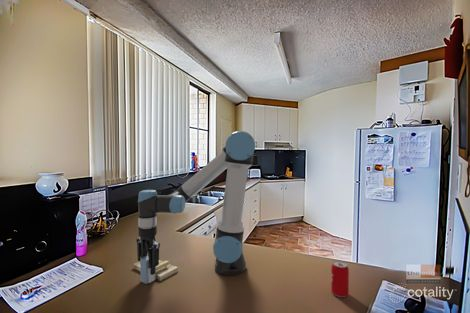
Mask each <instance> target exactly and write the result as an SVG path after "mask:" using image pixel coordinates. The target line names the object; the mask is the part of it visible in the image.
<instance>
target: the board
mask: <svg viewBox="0 0 470 313" xmlns="http://www.w3.org/2000/svg"><path fill="white" fill-rule="evenodd" d="M162 262H164V261H163V260H160V259H159V263H162ZM132 266H133V269H134V270H136V271H138V272H140V261H138V262H136V263H133V264H132ZM178 272H179V268H178V266H176V265H172V264H170V263H169V265H167V267H163V268H161V269H159V270H157V271H156V279H155V280H158V281H159V282H161V281H163V280H165V279H167V278H169V277H171V276H172V275H175V274H176V273H178Z"/></svg>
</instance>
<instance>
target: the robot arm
mask: <svg viewBox="0 0 470 313" xmlns="http://www.w3.org/2000/svg"><path fill="white" fill-rule="evenodd" d="M255 149H256V141H255V138H254V137H253V136H252V135H251V134H250V133H248V132H247V131H242V130H237V131H233V132H232V133H231V134H229V136H228V137H227V138H226V141H225V146H224V147H222V148H221V152H220V153H219V154H218V155H216V156H215V157H214V158H213V159H212V160H211V161H209V162H208V163H207V164H205V165H204V166H203V167H202V168H200V170H199V171H197V172H196V173H195V174H194V175H192V176H191V177H190V178H188V180H186V181H185V182H184V183H183V184H181V186H179V187H178V188H177V189H176V190H174V191H173V192H171V193H170V194H167V195H166V194H164V195H163V194H161V195H160V194H158V192H157V190H155V189H144V190H140V191H139V192H138V198H137V204H138V206H137V207H138V216H137V217H138V218H137V219H138V220H137V222H138V224H137V225H138V226H137V227H138V234H137V236H138V237H137V238H136V246H137V247H136V249H137V250H136V251H137V255H136V256H137V261H138V262H140V258H142V257H145V256H147V255H148V258H149V267H148V284H150V283H153V282H154V281H155V280H156V279H155V267H156V266H158V265H159V260H160V247H161V243H160V242H157V241H156V235H157V234H158V226H157V224H158V222H157V220H158V219H157V217H158V215H157V213H158V214H181V213H183V212H184V211H185V208H186V203H187V202H188V201H189V200H190V199H192V198H194V196H195V195H197V194H198V193H199V192H200V191H201V190H203V189H204V188H205V187H206V186H208V185H209V184H210V183H211V182H213V181H214V180H215V179H216V178H217V177H218V176H219V175H221V174H222V173H223V172H224V171H225V170H226V177H225V187H224V194H223V202H222V212H221V217H220V218H221V220H219V221H218V224H217V225H216V230H215V237H214V238H215V240H214V243H213V246H212V250H213V255H214V257H215V262H214V270H215V271H216V272H217V273H218V274H220V275H223V276H237V275H240V274H242V273H244V272H245V271H246V269H247V262H246V259H245V255H244V252H243V245H244V244H243V241H244V231H245V228H244V226H243V221H242V220H243V212H244V204H245V195H246V187H247V181H248V180H247V179H248V171H249V168H251V167H252V166H253V161H254V154H255V153H254V152H255Z"/></svg>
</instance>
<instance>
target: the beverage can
mask: <svg viewBox="0 0 470 313" xmlns="http://www.w3.org/2000/svg"><path fill="white" fill-rule="evenodd" d="M349 270H350V269H349V266H348V264H347V263H346V262H344V261H341V260H334V261H333V262H332V265H331V270H330V271H331V273H330V275H331V279H330V280H331V283H330V285H331V288H330V289H331V290H330V291H331V293H332V294H333V295H334V296H336V297H338V298H346V297H348V296H349V288H350V287H349V285H350V284H349V281H350V280H349V279H350V278H349V275H350V274H349V273H350V272H349Z"/></svg>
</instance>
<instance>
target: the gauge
mask: <svg viewBox="0 0 470 313" xmlns="http://www.w3.org/2000/svg"><path fill="white" fill-rule="evenodd" d="M139 262H140V271H139V272H140V273H139V274H140V282H141V283H143V284H145V285H148V284H149V283H148V267H149V258H148V254H147V256H145V257H142V258H141V257H140V261H139ZM169 264H170V261H169V260H164V261H163V262H162V263H159V265H158V266H156V267H155V280H157V279H156V271H157V270H159V269H161V268H163V267H167V265H169Z"/></svg>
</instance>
